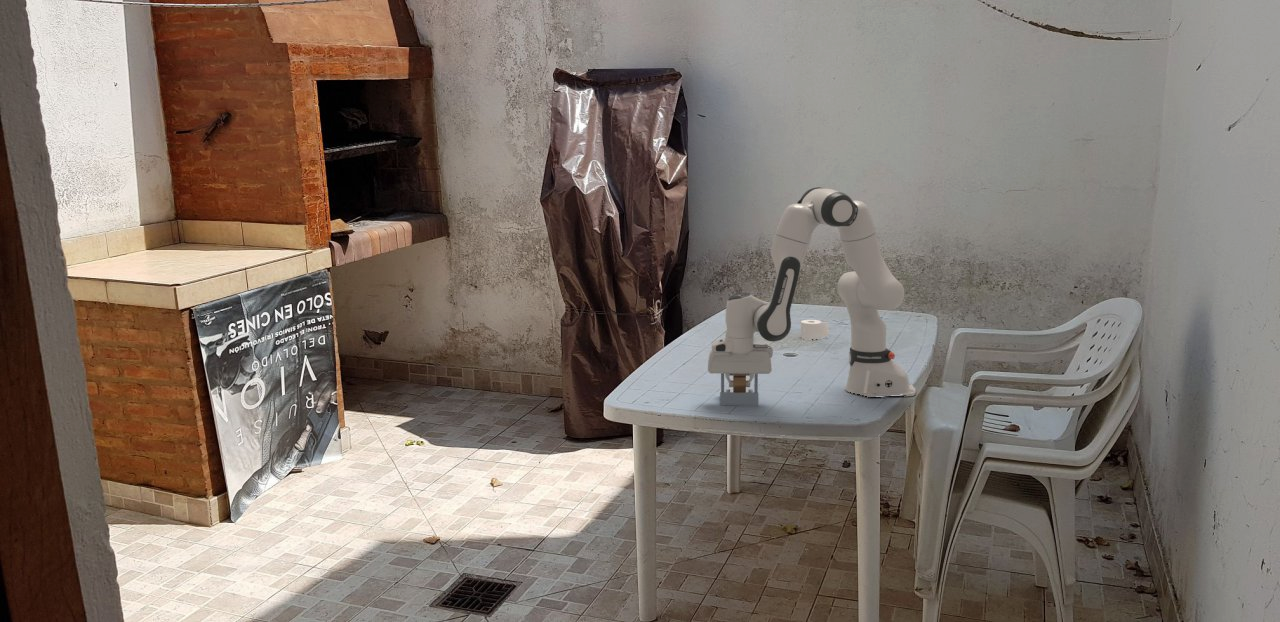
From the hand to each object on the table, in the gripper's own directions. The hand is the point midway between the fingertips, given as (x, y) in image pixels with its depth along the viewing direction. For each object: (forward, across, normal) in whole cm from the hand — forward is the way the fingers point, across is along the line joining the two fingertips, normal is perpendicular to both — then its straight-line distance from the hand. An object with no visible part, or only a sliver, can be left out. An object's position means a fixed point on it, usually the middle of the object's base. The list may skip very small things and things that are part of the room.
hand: (739, 386), depth 312 cm
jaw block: (+2, 0, 0) cm, 2 cm away
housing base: (+5, 0, -1) cm, 5 cm away
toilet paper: (+6, -31, -92) cm, 97 cm away
